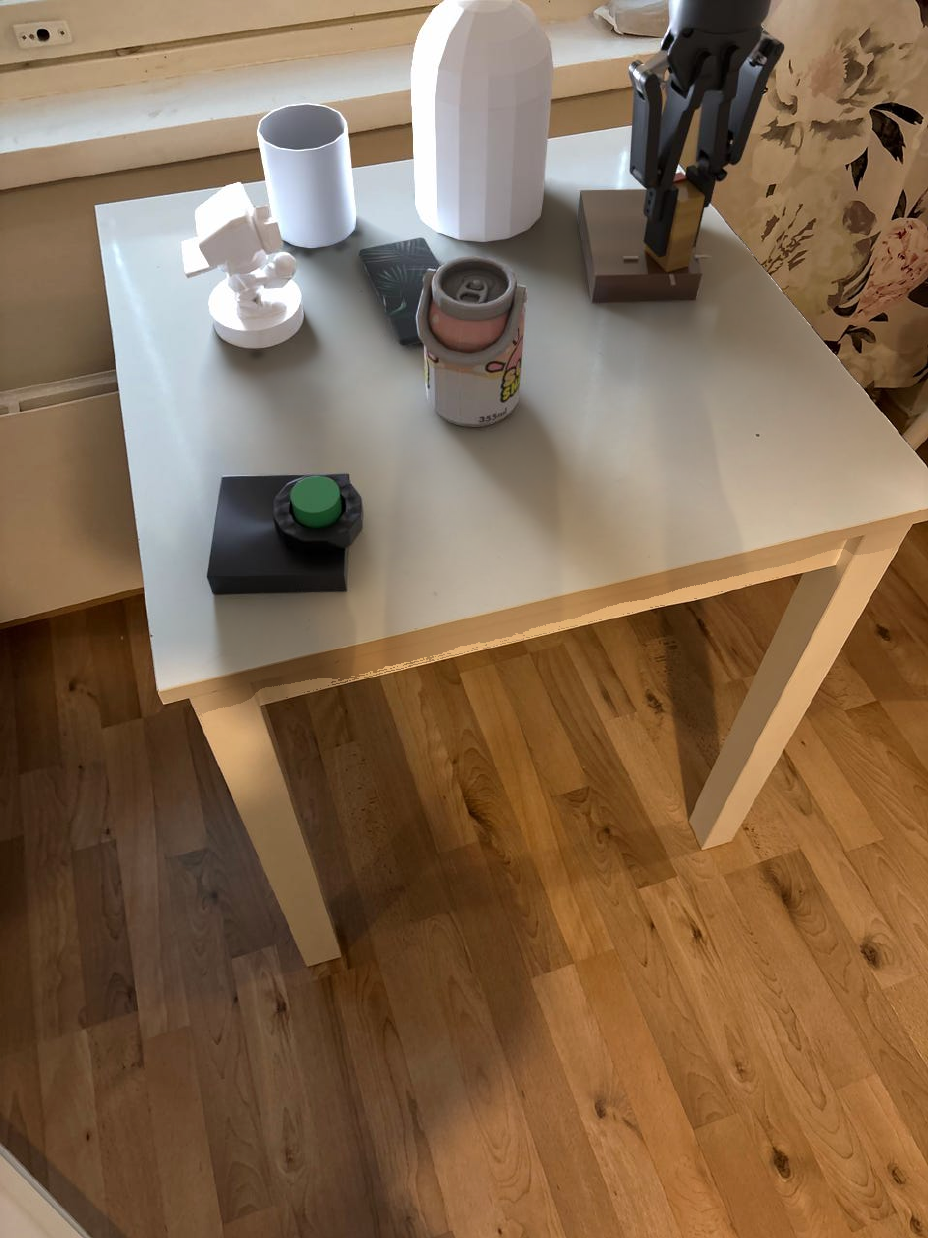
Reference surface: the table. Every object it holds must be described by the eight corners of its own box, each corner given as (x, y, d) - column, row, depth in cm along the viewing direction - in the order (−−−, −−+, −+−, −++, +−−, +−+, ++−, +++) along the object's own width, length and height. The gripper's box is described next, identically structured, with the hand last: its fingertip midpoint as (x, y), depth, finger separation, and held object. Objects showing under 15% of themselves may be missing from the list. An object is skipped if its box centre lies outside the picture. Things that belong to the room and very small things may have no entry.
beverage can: (504, 450, 79) (511, 333, 69) (408, 430, 81) (401, 312, 71) (530, 377, 84) (540, 259, 75) (439, 359, 86) (437, 241, 76)
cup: (352, 248, 95) (342, 151, 87) (270, 247, 95) (252, 150, 87) (358, 200, 100) (349, 103, 92) (280, 199, 100) (264, 102, 92)
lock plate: (710, 311, 90) (717, 282, 87) (593, 313, 90) (597, 284, 87) (683, 215, 99) (689, 186, 96) (577, 216, 98) (580, 188, 96)
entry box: (363, 591, 71) (359, 558, 68) (212, 594, 71) (200, 561, 67) (367, 491, 77) (363, 456, 73) (227, 494, 76) (216, 459, 73)
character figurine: (309, 340, 87) (290, 221, 77) (205, 356, 86) (172, 236, 76) (297, 282, 92) (277, 163, 82) (198, 296, 91) (166, 176, 81)
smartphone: (423, 235, 95) (472, 325, 87) (424, 244, 96) (472, 335, 87) (357, 248, 94) (400, 341, 85) (358, 257, 94) (400, 350, 86)
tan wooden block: (689, 265, 89) (705, 193, 83) (666, 272, 88) (681, 200, 82) (666, 242, 91) (681, 170, 85) (644, 248, 90) (657, 176, 84)
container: (567, 221, 98) (589, 9, 81) (450, 256, 94) (448, 41, 78) (506, 157, 105) (515, -52, 88) (395, 186, 101) (383, -24, 85)
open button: (341, 527, 70) (338, 512, 68) (292, 528, 70) (288, 513, 68) (343, 491, 72) (340, 475, 70) (295, 492, 72) (292, 476, 70)
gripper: (786, -82, 73) (717, 202, 92) (609, -47, 69) (576, 243, 88) (847, -44, 69) (762, 245, 88) (664, -4, 65) (617, 288, 85)
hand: (669, 243), depth 88 cm, fingers closed on tan wooden block, 2 cm apart
